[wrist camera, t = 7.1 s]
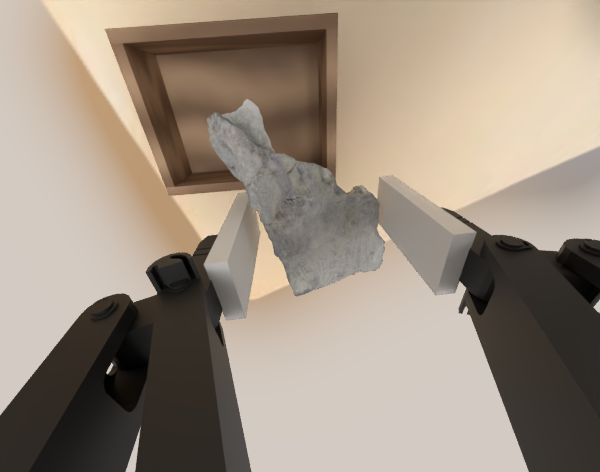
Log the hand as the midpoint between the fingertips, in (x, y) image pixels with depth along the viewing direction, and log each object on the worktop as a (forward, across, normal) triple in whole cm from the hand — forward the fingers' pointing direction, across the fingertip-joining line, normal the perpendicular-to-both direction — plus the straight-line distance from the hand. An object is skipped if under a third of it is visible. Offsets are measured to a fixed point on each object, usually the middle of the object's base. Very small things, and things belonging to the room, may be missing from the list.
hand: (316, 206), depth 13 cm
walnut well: (+21, -6, +4) cm, 22 cm away
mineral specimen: (+1, 0, 0) cm, 1 cm away
